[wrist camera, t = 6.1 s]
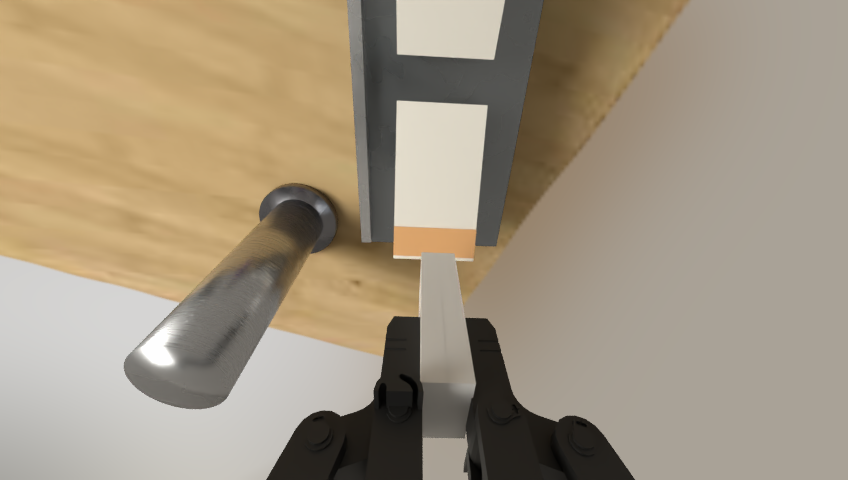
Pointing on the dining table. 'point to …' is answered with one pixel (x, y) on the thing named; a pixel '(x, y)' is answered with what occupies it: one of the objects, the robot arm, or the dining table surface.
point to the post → (232, 304)
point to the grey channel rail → (440, 83)
